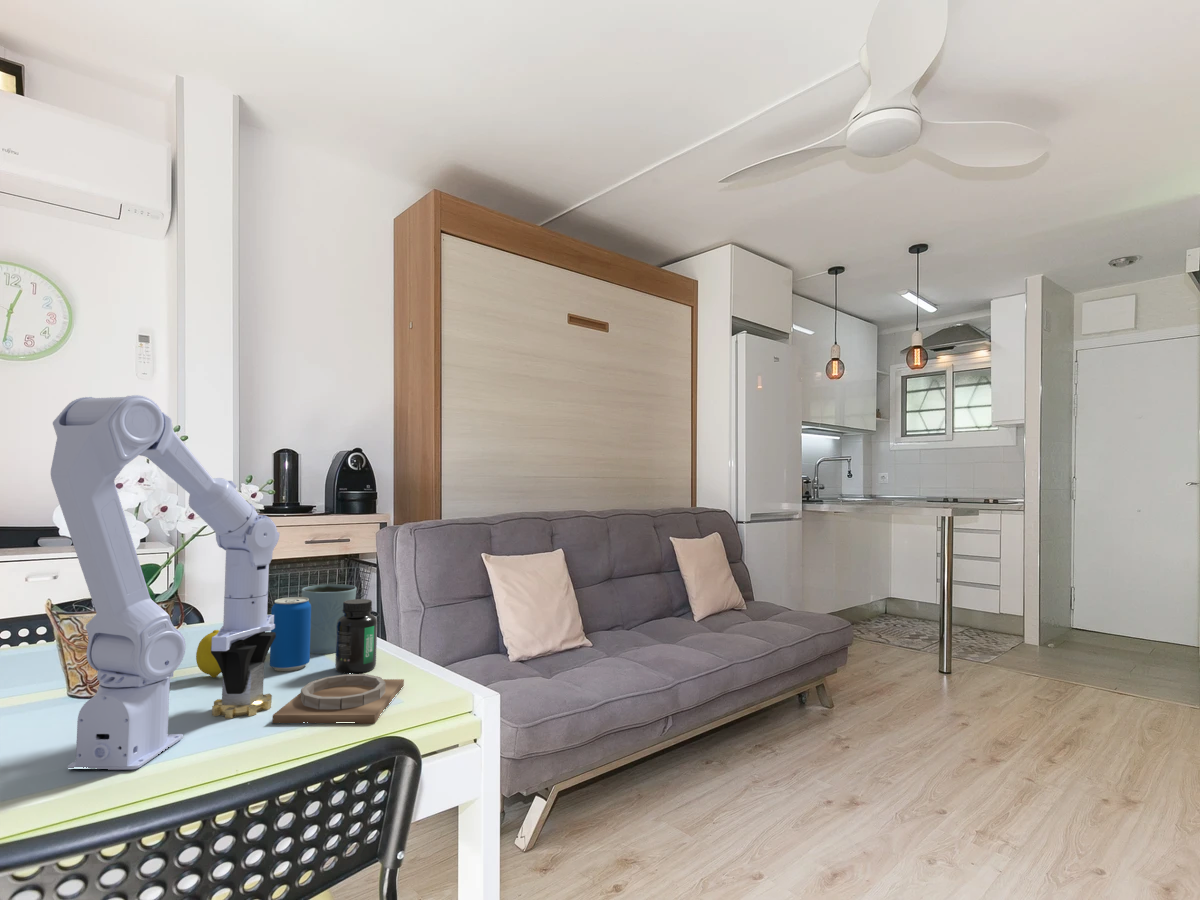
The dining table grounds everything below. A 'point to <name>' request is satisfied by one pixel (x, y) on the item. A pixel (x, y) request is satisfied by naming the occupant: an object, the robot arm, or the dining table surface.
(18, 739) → the dining table surface
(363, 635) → the supplement bottle
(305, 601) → the beverage can
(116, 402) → the robot arm
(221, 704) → the gear
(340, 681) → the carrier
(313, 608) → the green plant pot
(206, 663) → the lemon
